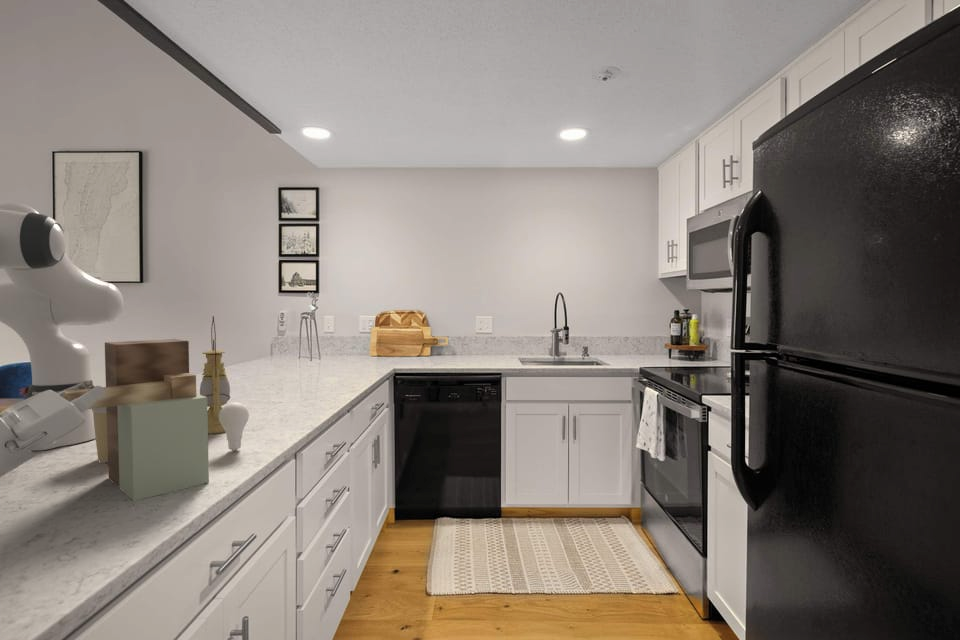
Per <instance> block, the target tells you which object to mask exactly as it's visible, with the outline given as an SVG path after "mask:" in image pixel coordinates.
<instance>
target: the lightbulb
mask: <svg viewBox="0 0 960 640" xmlns="http://www.w3.org/2000/svg"><path fill="white" fill-rule="evenodd" d="M249 417H250V413H249V409H248V408H247V407H246V406H245V404H243V403H240V402H237V401H236V402H235V401H233V402H229V403H226V404H225V405H223V407H222V409H221V411H220V413H219V421H220V423H221V425H222V426H223V428H224V430H225V432H224V433H225V435H226V441H227V443H228V444H227V446H228V450H231V451H232V452H237V451H238V450H239V449H241V446H242V439H243V433H244V429H245V427H246V425H247V423H248V421H249Z"/></svg>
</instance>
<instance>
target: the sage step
mask: <svg viewBox="0 0 960 640" xmlns="http://www.w3.org/2000/svg"><path fill="white" fill-rule="evenodd" d="M117 410H118V446H119V483H120V488H121V489H122V490H123V491H124V492H125V493H124V492H123V491H122V490H121V489H120V488H119V489H120V490H121V491H122V492H123V493H124V494H126V495H127V497H129V498H130V499H131V500H132V501H133V500H136V501H139V499H140V500H143V499H147V498H151V497H157V496H160V495H165V494H169V493H172V491H173V492H176V490H177V491H181V490H184V489H188V488H192V487H197V486H200V485H201V484H202V485H205V484H204V483H206V484H209V483H210V471H209V470H210V469H209V434H208V414H207V411H208V407H207V397H205V396H202V395H200V393H199V394H198V393H196V397H189V398H181V399H173V400H172V399H168V400H160V401H152V402H144V403H136V404H128V405H120V406H117ZM208 482H209V483H208ZM202 485H201V486H202Z"/></svg>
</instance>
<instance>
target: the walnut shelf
mask: <svg viewBox="0 0 960 640" xmlns="http://www.w3.org/2000/svg"><path fill="white" fill-rule="evenodd" d="M189 343H190V342H189V340H184V339H176V338H168V339H167V338H166V339H147V340H145V339H144V340H130V341H129V340H128V341H109V342H108V341H106V342H104V365H105V368H104V369H105V370H104V371H105V372H104V373H105V387H111V386H121V385H131V384H141V383H150V382H160V381H164V375H172V374H182V373H189V374H190V347H189V345H190V344H189ZM106 409H107V444H108V463H107V472H108V473H107V474H108V475H107V477H109V478H110V479H111V480H112V481H113V482H114V483H113V482H112V481H111V480H110V479H109V478H108V479H109V480H110V481H111V482H112V483H113V484H115V485H116V486H117V487H118V486H119V487H118V488H119V489H120V483H119V446H118V410H117V406H112V407H106Z"/></svg>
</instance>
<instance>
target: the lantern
mask: <svg viewBox="0 0 960 640" xmlns="http://www.w3.org/2000/svg"><path fill="white" fill-rule="evenodd" d="M213 327H214V328H213ZM213 329H214V331H213ZM210 331H211V341H212V344H211V350H205V351H202V354H203V355H205V359H206V361H207V362H204V368H203V373H202V374H201V375H202V378H201V379H202V380H201V382H200V385H199V395H202V396H205V397H207V414H208V435H212V434H213V433H215V434H222V433H226V432H225V430H224V428H223V426H222V425H221V423H220V421H219V413H220V411H221V409H222V408H223V407H224V406H225V405H227V404H228V402H229V401H230V399H231V396H230V394H231V393H230V392H231V386H230V385H231V384H230V381H229V379H228V376H227V372H226V369H225V368H226V367H225V366H224V365H225V363H224V362H223V361H222V357H223V354H225V353H226V351H225V350H219V349H218V350H217V349H216V348H217V343H216V342H217V340H216V338H217V336H216V335H217V334H216V333H217V332H216V324H215V316H214V315H213V316H212V322H211V330H210ZM213 332H214V339H213ZM222 406H223V407H222ZM213 435H214V434H213Z"/></svg>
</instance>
